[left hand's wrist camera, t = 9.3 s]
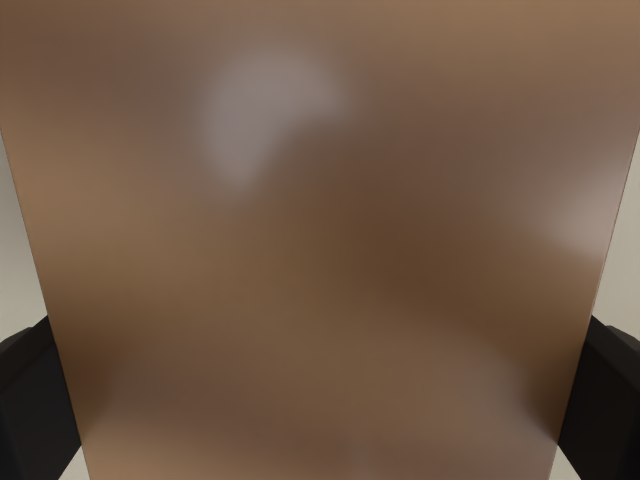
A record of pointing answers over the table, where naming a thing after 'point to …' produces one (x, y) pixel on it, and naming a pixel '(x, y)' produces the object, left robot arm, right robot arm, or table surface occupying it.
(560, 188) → the cabinet
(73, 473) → the table surface
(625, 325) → the table surface
